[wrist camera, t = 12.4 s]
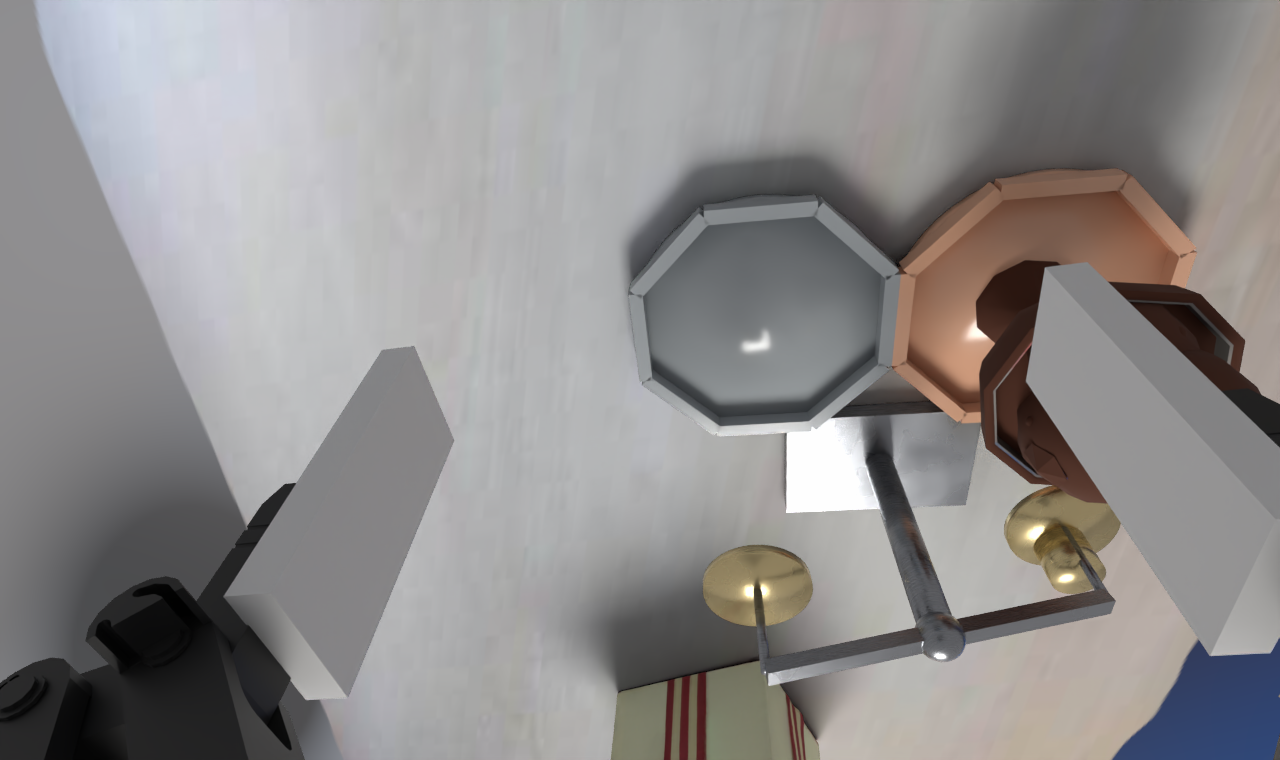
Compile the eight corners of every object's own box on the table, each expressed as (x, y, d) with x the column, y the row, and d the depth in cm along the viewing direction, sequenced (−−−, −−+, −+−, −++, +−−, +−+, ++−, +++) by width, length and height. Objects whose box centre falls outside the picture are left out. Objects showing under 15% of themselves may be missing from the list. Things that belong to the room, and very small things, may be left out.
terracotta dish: (900, 181, 37) (908, 193, 36) (1204, 155, 36) (1226, 165, 34) (879, 410, 46) (885, 427, 44) (1126, 396, 44) (1141, 413, 43)
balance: (696, 414, 47) (700, 628, 33) (1073, 393, 44) (1253, 615, 30) (703, 504, 51) (709, 726, 37) (1047, 489, 48) (1194, 722, 34)
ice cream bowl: (951, 208, 37) (1083, 352, 25) (1166, 219, 37) (1412, 371, 24) (904, 377, 43) (992, 563, 31) (1090, 387, 43) (1257, 581, 30)
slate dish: (620, 206, 39) (618, 218, 38) (900, 181, 37) (908, 193, 36) (648, 423, 47) (647, 440, 46) (879, 410, 46) (885, 427, 44)
